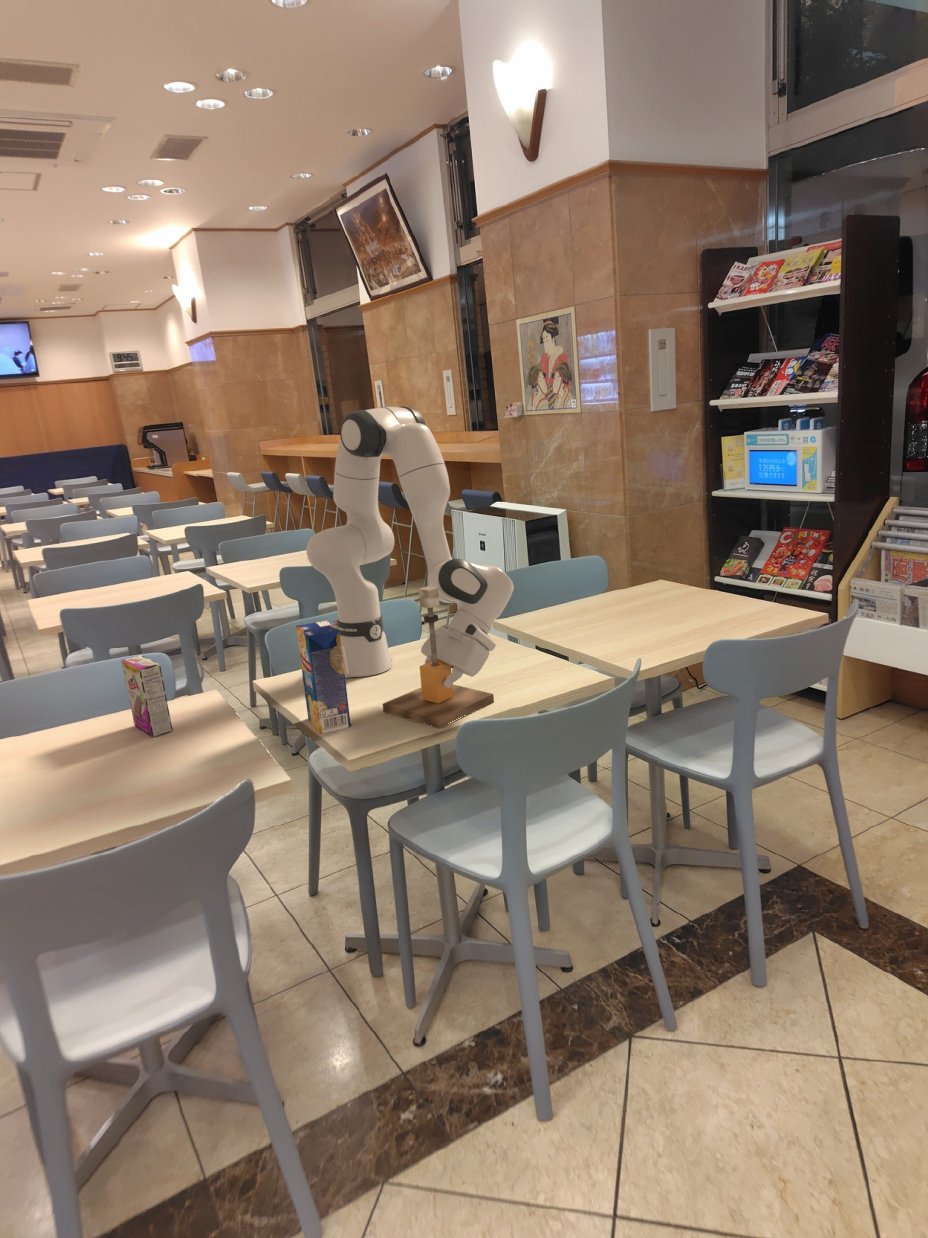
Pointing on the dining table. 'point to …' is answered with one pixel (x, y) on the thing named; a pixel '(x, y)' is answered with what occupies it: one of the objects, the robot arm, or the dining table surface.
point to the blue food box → (323, 676)
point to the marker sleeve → (435, 682)
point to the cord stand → (413, 702)
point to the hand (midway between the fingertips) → (434, 681)
